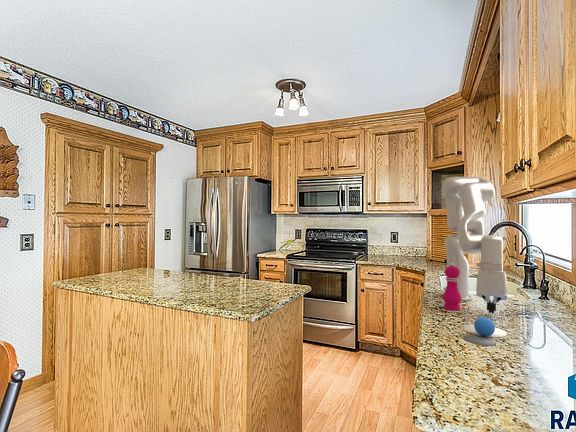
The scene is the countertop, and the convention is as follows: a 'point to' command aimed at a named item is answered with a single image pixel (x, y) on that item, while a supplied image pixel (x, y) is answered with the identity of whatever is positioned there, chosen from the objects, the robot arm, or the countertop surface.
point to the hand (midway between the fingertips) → (491, 312)
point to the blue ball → (484, 326)
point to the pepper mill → (452, 288)
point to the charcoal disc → (479, 340)
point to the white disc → (496, 333)
